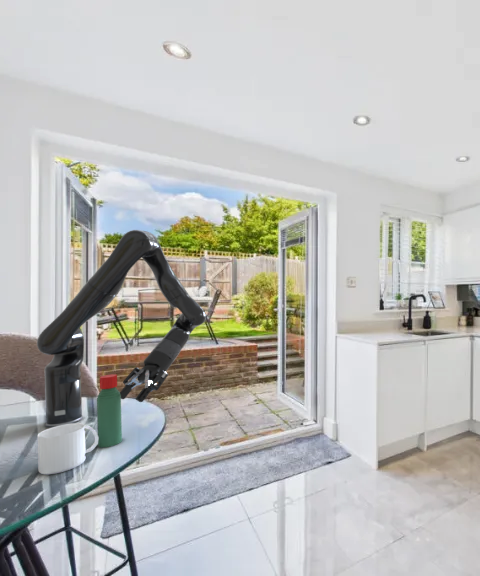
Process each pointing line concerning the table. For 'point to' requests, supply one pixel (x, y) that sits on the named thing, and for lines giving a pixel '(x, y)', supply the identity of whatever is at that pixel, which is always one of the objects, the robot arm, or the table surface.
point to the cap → (108, 381)
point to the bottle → (109, 417)
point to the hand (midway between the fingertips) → (129, 399)
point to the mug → (63, 447)
